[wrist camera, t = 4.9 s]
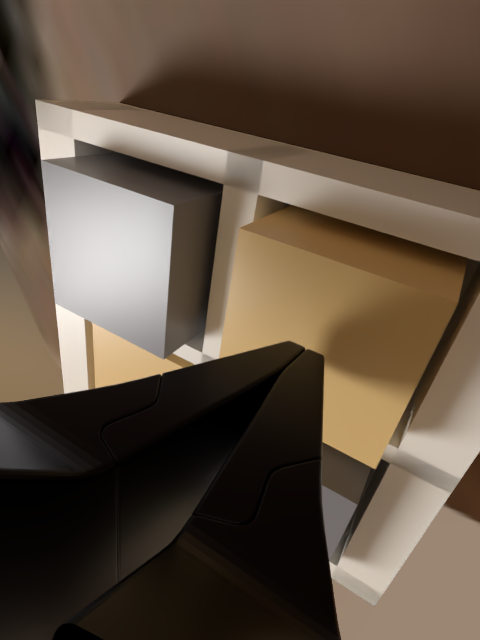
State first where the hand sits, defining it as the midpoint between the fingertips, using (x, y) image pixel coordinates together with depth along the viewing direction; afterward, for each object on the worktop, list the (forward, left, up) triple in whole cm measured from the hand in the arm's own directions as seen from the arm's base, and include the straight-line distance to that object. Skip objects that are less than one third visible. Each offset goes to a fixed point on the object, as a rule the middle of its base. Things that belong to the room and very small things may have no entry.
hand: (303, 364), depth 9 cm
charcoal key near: (+6, 0, -4) cm, 7 cm away
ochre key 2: (0, 0, -3) cm, 3 cm away
